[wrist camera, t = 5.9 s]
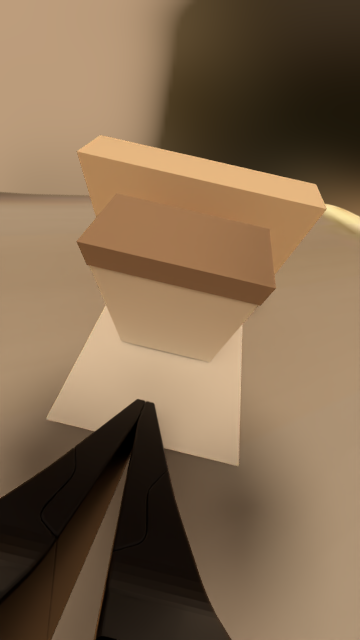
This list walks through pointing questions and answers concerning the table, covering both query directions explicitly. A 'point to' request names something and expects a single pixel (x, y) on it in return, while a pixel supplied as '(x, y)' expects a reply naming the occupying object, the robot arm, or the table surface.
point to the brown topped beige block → (177, 274)
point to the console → (159, 366)
